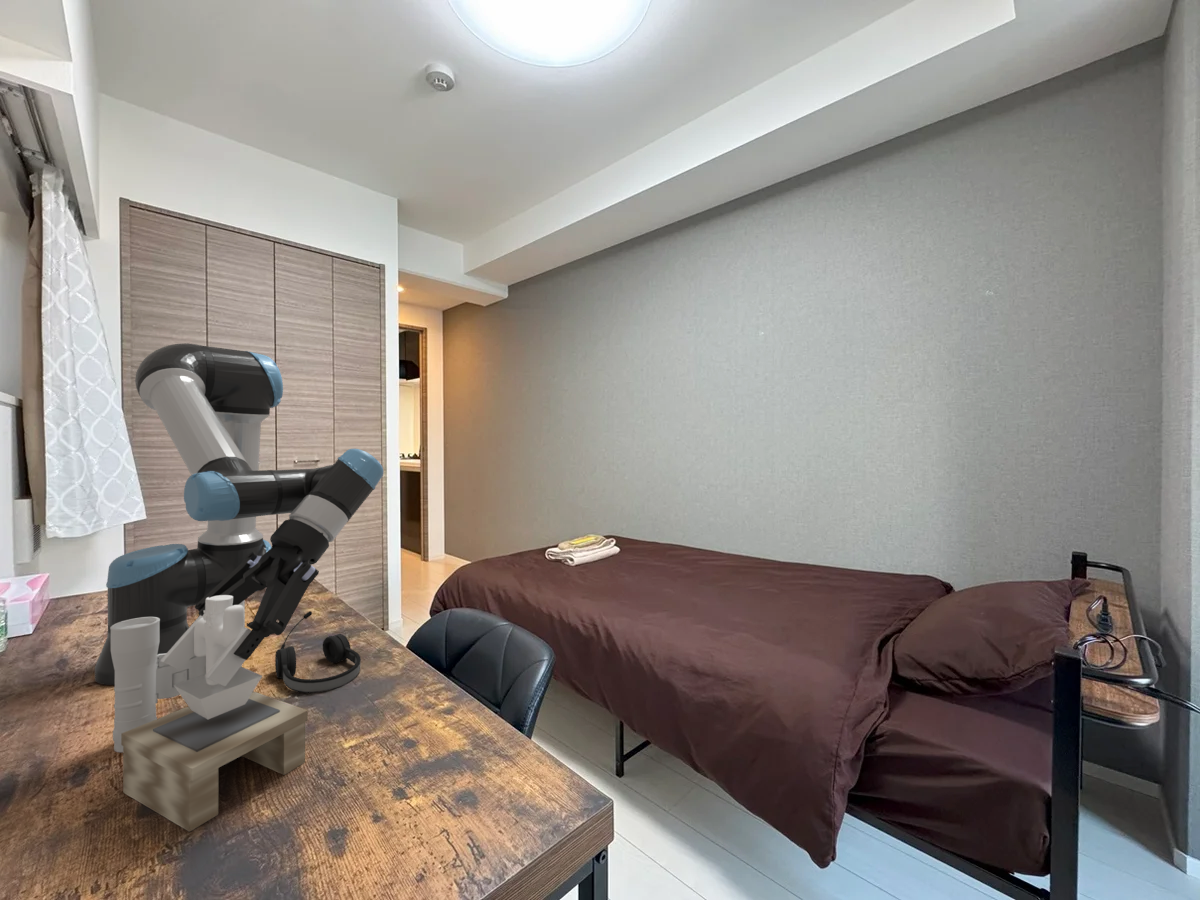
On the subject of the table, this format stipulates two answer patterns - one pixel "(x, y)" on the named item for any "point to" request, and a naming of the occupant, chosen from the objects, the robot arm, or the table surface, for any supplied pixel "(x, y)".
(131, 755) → the bridge shelf
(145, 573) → the robot arm
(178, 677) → the binoculars
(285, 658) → the headset
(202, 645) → the figurine
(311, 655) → the table surface
